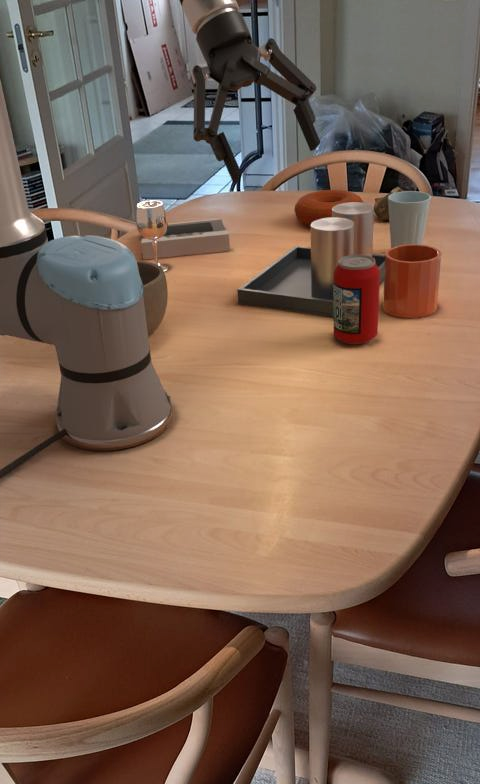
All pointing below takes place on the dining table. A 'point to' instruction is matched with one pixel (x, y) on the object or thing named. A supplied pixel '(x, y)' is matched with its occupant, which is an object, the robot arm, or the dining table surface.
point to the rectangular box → (189, 239)
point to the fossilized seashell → (384, 205)
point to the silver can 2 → (328, 252)
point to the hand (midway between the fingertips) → (277, 162)
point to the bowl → (153, 294)
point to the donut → (322, 204)
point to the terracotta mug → (411, 280)
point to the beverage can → (356, 299)
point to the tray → (290, 285)
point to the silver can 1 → (358, 224)
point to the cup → (408, 217)
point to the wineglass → (152, 223)
